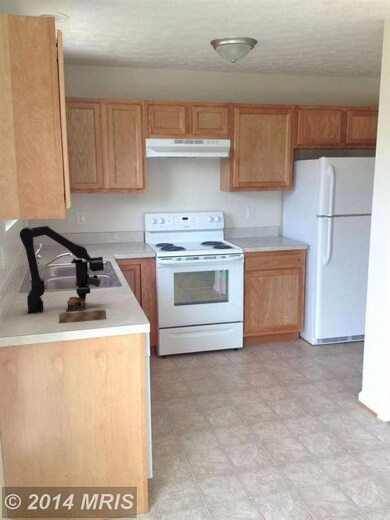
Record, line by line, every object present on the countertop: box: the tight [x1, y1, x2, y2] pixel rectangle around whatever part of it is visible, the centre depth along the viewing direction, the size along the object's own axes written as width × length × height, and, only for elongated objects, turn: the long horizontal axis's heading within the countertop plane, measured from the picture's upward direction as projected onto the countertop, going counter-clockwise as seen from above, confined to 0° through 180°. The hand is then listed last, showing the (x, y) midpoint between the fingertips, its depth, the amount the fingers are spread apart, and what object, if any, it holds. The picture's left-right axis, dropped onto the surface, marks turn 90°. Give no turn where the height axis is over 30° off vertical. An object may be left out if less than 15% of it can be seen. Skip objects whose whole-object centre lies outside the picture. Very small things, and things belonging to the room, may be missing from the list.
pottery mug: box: [65, 296, 87, 312], centre depth 219 cm, size 12×10×8 cm
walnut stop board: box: [58, 308, 107, 324], centre depth 207 cm, size 20×2×4 cm, turn 105°
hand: (83, 303), depth 226 cm, fingers closed
